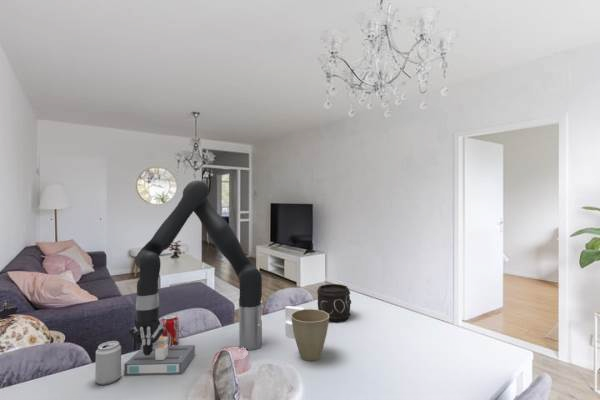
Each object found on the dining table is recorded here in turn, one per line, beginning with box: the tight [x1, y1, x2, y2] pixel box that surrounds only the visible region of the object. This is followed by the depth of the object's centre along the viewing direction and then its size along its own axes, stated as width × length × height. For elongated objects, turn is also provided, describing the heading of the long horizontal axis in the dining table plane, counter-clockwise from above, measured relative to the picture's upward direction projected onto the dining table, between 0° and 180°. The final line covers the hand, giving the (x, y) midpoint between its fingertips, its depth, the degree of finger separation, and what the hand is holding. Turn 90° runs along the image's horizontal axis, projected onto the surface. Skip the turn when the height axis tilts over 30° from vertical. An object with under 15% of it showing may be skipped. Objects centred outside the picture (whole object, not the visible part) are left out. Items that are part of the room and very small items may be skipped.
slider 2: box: [155, 344, 168, 360], centre depth 111 cm, size 3×4×4 cm
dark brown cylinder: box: [316, 283, 352, 324], centre depth 162 cm, size 18×18×16 cm
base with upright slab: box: [284, 305, 306, 339], centre depth 141 cm, size 9×9×12 cm
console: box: [123, 344, 196, 376], centre depth 114 cm, size 20×14×4 cm
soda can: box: [160, 313, 180, 346], centre depth 132 cm, size 7×7×12 cm
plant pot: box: [291, 308, 330, 362], centre depth 119 cm, size 15×15×16 cm
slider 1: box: [155, 336, 168, 348], centre depth 118 cm, size 3×4×4 cm
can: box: [95, 340, 122, 386], centre depth 105 cm, size 8×8×12 cm
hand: (147, 354), depth 111 cm, fingers closed
